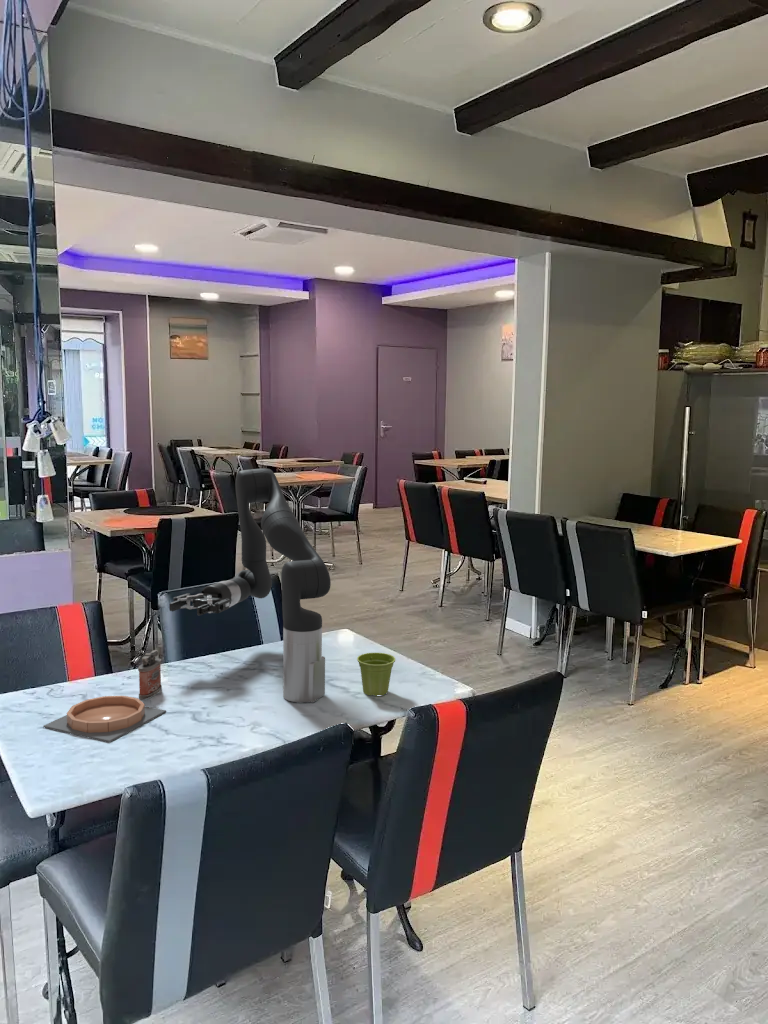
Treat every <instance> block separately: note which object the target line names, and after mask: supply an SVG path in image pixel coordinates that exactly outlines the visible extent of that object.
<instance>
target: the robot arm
mask: <svg viewBox="0 0 768 1024" xmlns="http://www.w3.org/2000/svg"><path fill="white" fill-rule="evenodd" d="M235 495H236V496H235V497H236V504H237V512H238V513H237V514H238V521H239V526H240V527H239V528H240V535H241V537H240V539H241V564H242V566H243V567H244V568H245V569H242V570H240V571H239V572H238V573H237V574H235V576H233V578H230V579H228V580H221V581H219V582H216V583H213V584H210V585H207V586H205V587H204V588H203V589H202V590H201V592H200V593H197V594H194V595H191V593H189V592H188V593H184V594H181V595H178V596H177V595H176V596H174V597H173V601H171V602H170V603H169V607H168V608H169V611H170V612H176V611H178V610H181V609H187V610H195V609H196V615H197V616H203V615H206V614H216V615H218V614H220V613H223V612H224V611H226V610H229V609H230V608H232V607H233V606H235V605H236V604H238V603H242V602H244V601H245V600H247V599H248V597H254V598H256V599H257V598H258V599H265V598H266V597H267V596H268V595H270V592H271V590H272V584H273V582H272V576H271V572H270V569H269V565H268V563H267V543H268V544H269V546H270V547H271V548H272V549H273V550H274V551H276V552H277V553H279V554H280V555H282V556H284V557H285V558H288V559H289V560H290V561H287V562H285V563H283V566H282V568H281V574H280V576H281V577H280V582H281V583H280V585H281V603H282V609H281V611H282V620H283V622H282V623H283V628H282V629H283V631H282V633H283V634H282V637H283V638H282V640H283V643H282V646H283V647H282V649H283V651H282V655H283V657H282V658H283V659H282V662H283V663H282V664H283V665H282V670H283V671H282V673H283V674H282V677H283V678H282V680H283V681H282V683H283V684H282V688H283V689H282V693H283V694H282V695H283V699H285V700H286V701H289V702H292V703H293V702H294V703H315V702H316V701H319V699H321V698H323V696H325V695H326V657H325V656H323V618H322V615H321V614H320V613H319V612H317V611H314V610H310V609H307V608H305V607H302V605H301V600H309V599H318V598H322V597H324V596H327V594H328V593H329V591H330V589H331V585H332V584H331V576H330V573H329V572H330V571H329V569H328V566H327V565H326V564H325V561H324V560H323V558H322V557H321V556H320V555H319V554H318V552H317V551H316V549H315V548H314V547H313V545H312V544H311V543H310V541H309V539H308V537H307V536H306V535H305V533H304V530H303V529H302V526H301V524H300V523H299V521H298V519H297V518H296V516H295V513H294V512H293V510H292V509H291V507H290V506H289V504H288V501H287V500H286V498H285V495H284V493H283V490H282V488H281V486H280V483H279V480H278V478H277V477H276V474H275V472H274V471H273V470H272V469H270V468H264V467H263V468H253V469H251V468H250V469H243V470H238V472H237V474H236V477H235ZM261 502H268V505H267V507H266V509H265V510H264V512H263V515H262V517H261V522H260V526H259V524H258V523H257V522H256V520H255V519H254V517H253V515H252V513H251V510H250V504H252V503H261ZM191 602H192V605H191Z"/></svg>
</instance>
